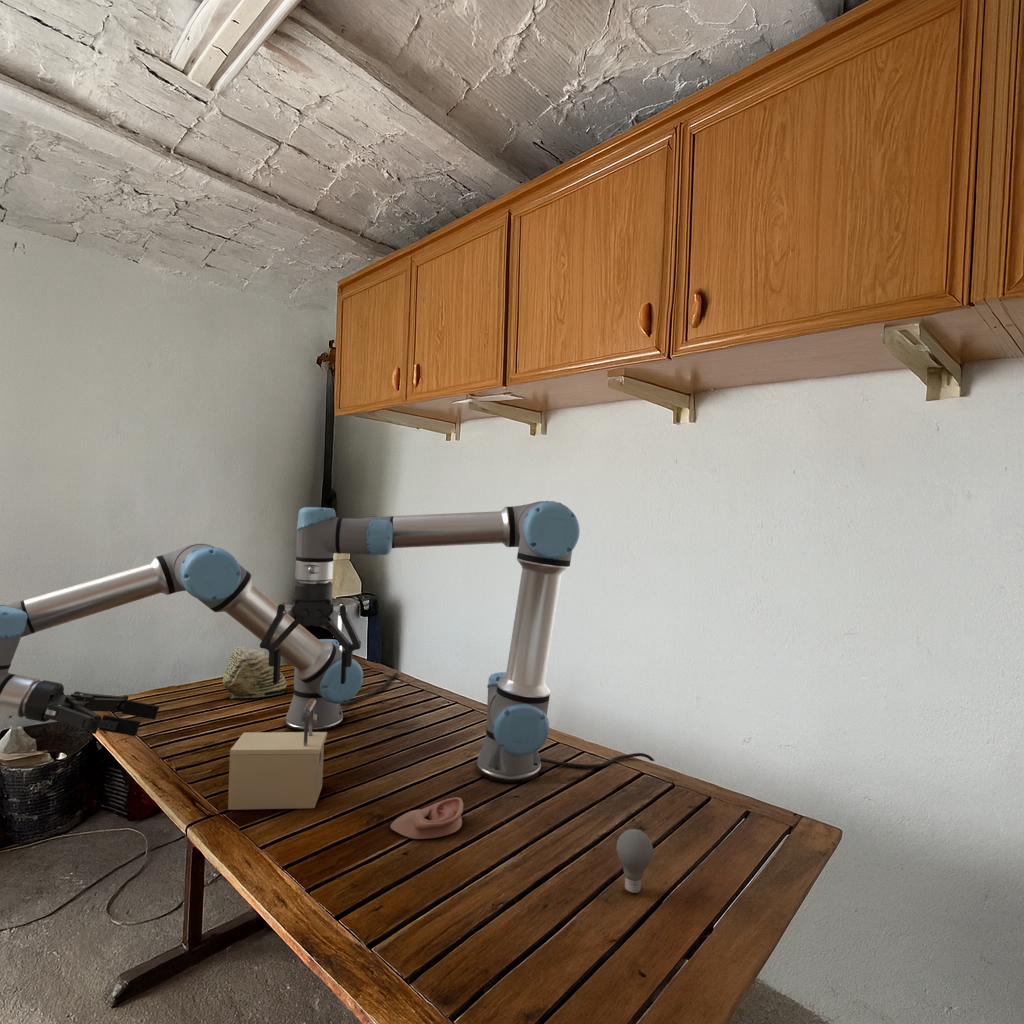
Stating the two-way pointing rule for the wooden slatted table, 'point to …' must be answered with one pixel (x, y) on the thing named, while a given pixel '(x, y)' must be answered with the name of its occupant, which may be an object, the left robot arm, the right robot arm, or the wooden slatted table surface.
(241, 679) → the fossil
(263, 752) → the lid
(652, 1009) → the wooden slatted table surface
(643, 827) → the wooden slatted table surface
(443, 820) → the anatomical model
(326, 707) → the left robot arm
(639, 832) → the light bulb
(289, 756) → the chest
